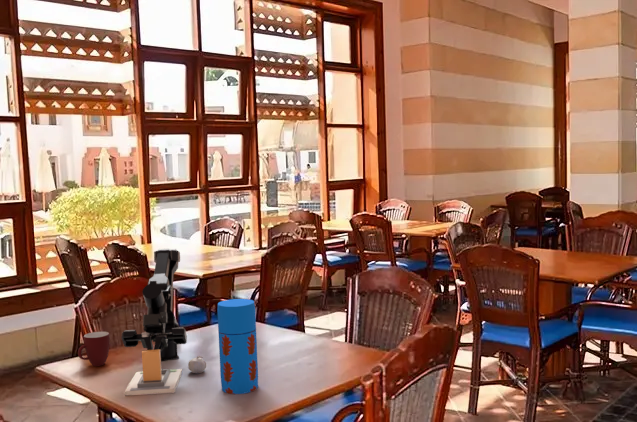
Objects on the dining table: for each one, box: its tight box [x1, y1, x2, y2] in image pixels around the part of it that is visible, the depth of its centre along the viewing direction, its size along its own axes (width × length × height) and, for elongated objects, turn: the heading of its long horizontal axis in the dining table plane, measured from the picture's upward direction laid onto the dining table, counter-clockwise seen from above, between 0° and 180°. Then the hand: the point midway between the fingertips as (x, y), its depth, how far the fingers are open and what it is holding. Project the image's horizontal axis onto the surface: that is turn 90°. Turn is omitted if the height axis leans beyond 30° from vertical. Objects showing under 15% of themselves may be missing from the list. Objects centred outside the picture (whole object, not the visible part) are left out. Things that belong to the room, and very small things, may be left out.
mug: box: [77, 331, 111, 367], centre depth 227 cm, size 10×8×10 cm
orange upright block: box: [141, 349, 162, 383], centre depth 202 cm, size 4×5×10 cm
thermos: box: [217, 298, 259, 395], centre depth 199 cm, size 11×11×25 cm
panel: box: [124, 368, 183, 396], centre depth 206 cm, size 18×14×2 cm
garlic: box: [187, 355, 207, 374], centre depth 216 cm, size 6×5×5 cm
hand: (152, 362), depth 203 cm, fingers closed
